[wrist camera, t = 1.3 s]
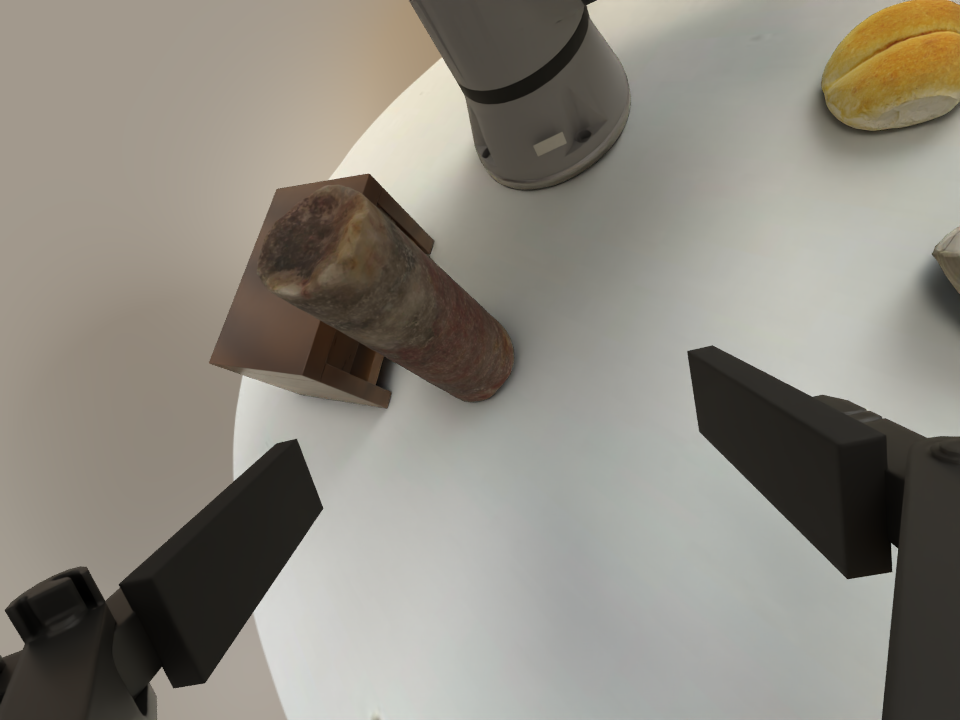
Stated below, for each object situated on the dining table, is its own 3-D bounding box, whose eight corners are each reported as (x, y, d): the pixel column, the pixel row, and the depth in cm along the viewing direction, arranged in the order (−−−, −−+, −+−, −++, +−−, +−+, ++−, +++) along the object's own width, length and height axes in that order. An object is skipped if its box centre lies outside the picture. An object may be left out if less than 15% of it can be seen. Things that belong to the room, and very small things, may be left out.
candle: (433, 346, 43) (249, 224, 26) (499, 307, 41) (347, 147, 24) (456, 417, 39) (260, 328, 22) (531, 377, 37) (377, 247, 21)
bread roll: (955, 15, 32) (983, -46, 29) (985, 114, 29) (1019, 59, 26) (812, 55, 36) (822, 5, 32) (826, 146, 33) (838, 102, 30)
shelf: (349, 246, 53) (276, 188, 44) (434, 240, 47) (369, 173, 39) (300, 394, 49) (208, 363, 40) (387, 408, 43) (301, 375, 34)
